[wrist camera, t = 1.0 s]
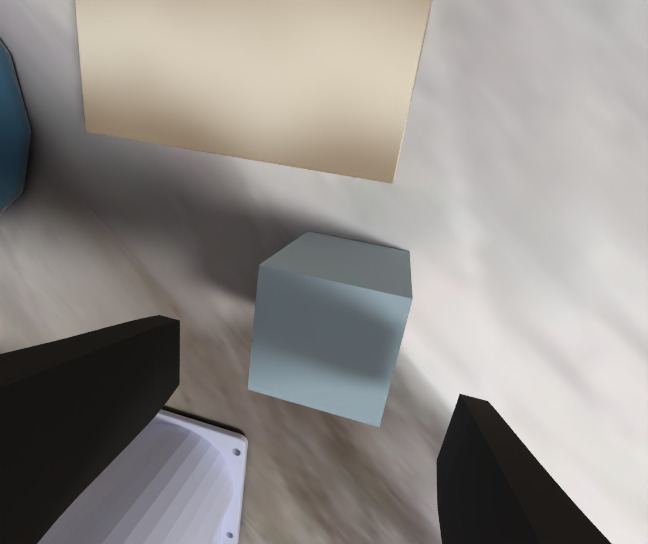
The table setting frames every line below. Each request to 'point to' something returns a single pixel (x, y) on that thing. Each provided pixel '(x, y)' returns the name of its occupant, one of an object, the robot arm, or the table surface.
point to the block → (330, 324)
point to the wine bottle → (12, 133)
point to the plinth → (256, 77)
